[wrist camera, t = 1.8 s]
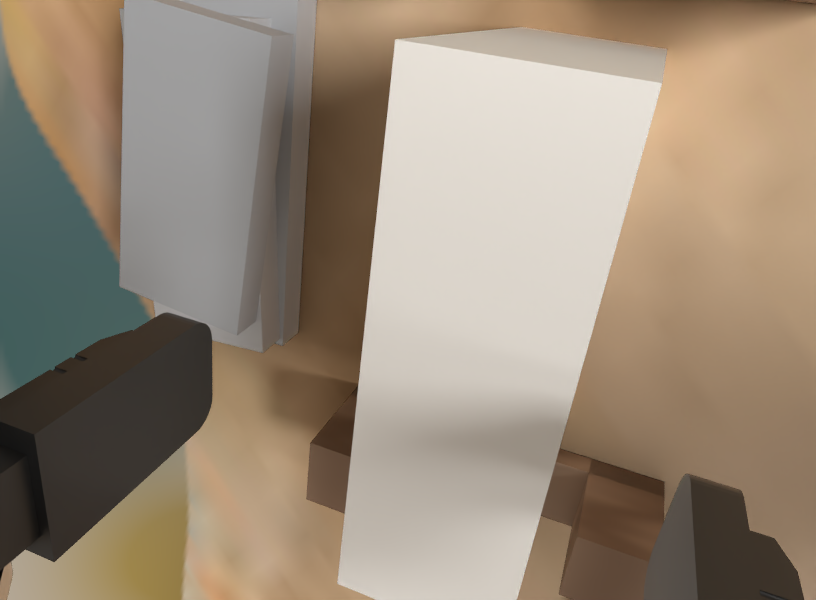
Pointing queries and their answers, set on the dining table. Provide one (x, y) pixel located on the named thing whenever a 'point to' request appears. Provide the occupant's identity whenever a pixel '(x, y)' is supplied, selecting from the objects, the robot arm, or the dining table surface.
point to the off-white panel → (484, 297)
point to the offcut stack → (217, 161)
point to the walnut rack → (545, 509)
